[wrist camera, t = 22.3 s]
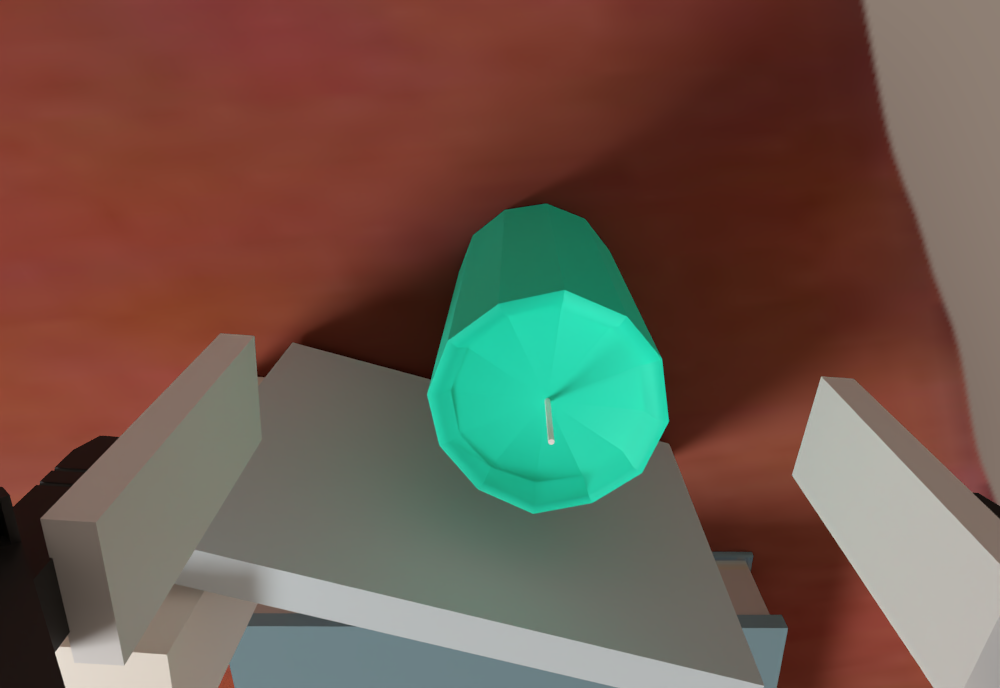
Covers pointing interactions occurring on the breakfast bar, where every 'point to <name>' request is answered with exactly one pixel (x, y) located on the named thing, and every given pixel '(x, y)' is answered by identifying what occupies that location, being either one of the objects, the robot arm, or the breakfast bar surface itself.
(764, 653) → the book
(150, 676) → the door frame
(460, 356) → the candle
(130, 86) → the breakfast bar surface
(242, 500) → the door
